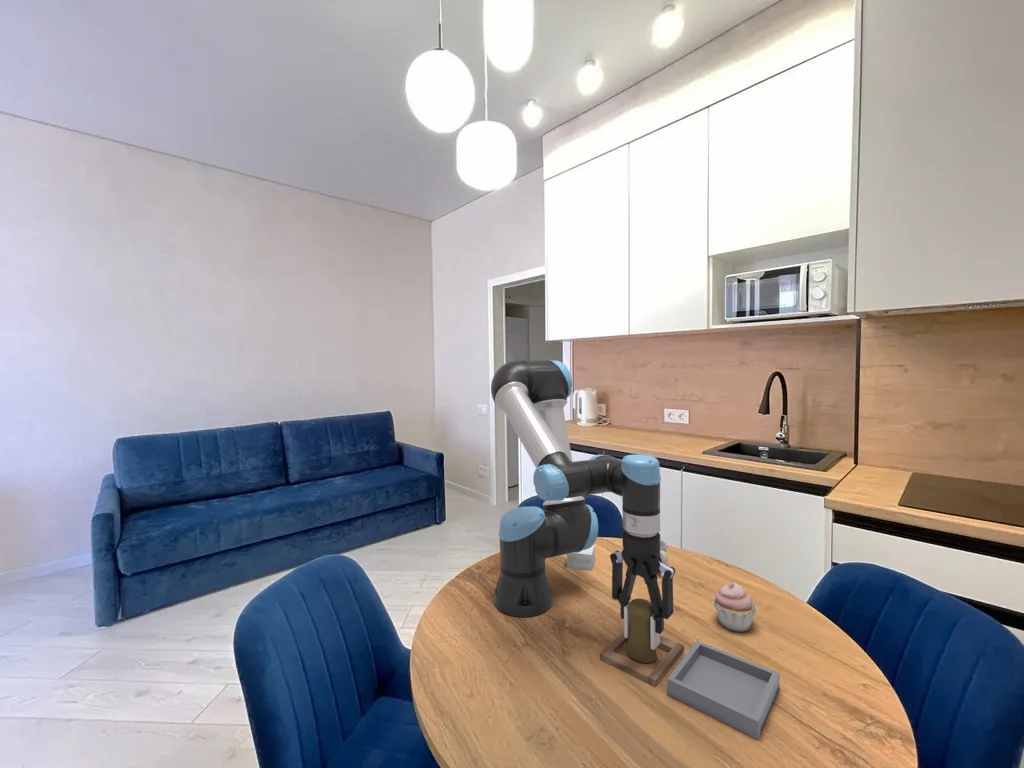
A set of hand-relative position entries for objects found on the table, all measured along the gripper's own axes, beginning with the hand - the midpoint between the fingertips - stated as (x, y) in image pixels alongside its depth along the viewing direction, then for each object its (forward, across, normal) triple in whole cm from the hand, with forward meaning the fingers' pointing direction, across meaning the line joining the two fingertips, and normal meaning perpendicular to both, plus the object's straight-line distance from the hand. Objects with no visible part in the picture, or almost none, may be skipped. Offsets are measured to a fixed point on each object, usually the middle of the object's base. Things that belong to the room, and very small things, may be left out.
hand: (641, 640), depth 92 cm
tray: (+3, +16, 0) cm, 16 cm away
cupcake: (+3, +11, +24) cm, 27 cm away
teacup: (+3, -16, +38) cm, 41 cm away
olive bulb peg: (+3, 0, 0) cm, 3 cm away
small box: (+4, -34, +28) cm, 44 cm away
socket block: (+3, 0, 0) cm, 3 cm away
